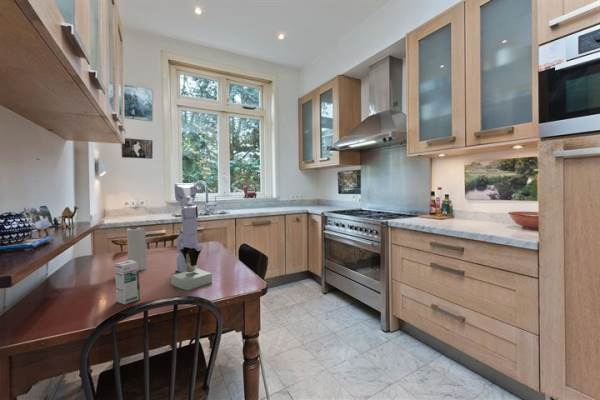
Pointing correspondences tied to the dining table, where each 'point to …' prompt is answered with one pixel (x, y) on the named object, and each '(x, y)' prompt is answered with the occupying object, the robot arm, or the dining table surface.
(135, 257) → the tall grey box
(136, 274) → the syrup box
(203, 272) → the socket block
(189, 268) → the dowel
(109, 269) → the dining table surface
